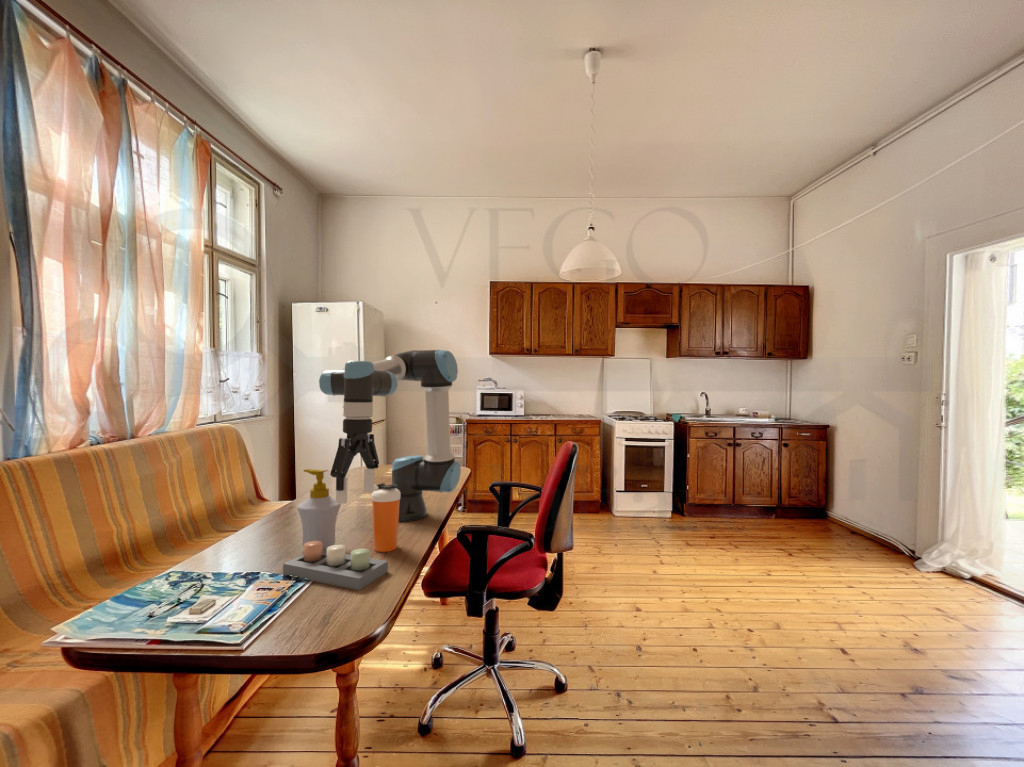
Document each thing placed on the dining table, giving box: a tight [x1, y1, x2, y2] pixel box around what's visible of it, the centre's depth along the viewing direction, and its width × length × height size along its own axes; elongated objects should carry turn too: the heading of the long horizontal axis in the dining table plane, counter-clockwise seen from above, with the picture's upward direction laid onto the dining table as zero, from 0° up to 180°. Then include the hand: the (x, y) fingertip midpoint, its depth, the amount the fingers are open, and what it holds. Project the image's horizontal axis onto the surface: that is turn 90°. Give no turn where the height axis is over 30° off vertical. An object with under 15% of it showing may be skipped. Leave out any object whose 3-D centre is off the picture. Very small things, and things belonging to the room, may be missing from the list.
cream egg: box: [327, 544, 346, 566], centre depth 125 cm, size 5×5×4 cm
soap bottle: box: [296, 468, 342, 550], centre depth 143 cm, size 13×13×25 cm
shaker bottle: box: [370, 482, 400, 553], centre depth 144 cm, size 9×9×20 cm
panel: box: [282, 550, 389, 591], centre depth 125 cm, size 12×25×3 cm, turn 70°
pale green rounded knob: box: [350, 548, 371, 570], centre depth 122 cm, size 5×5×4 cm
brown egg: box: [303, 541, 322, 562], centre depth 127 cm, size 5×5×4 cm
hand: (355, 497), depth 123 cm, fingers open, 13 cm apart
